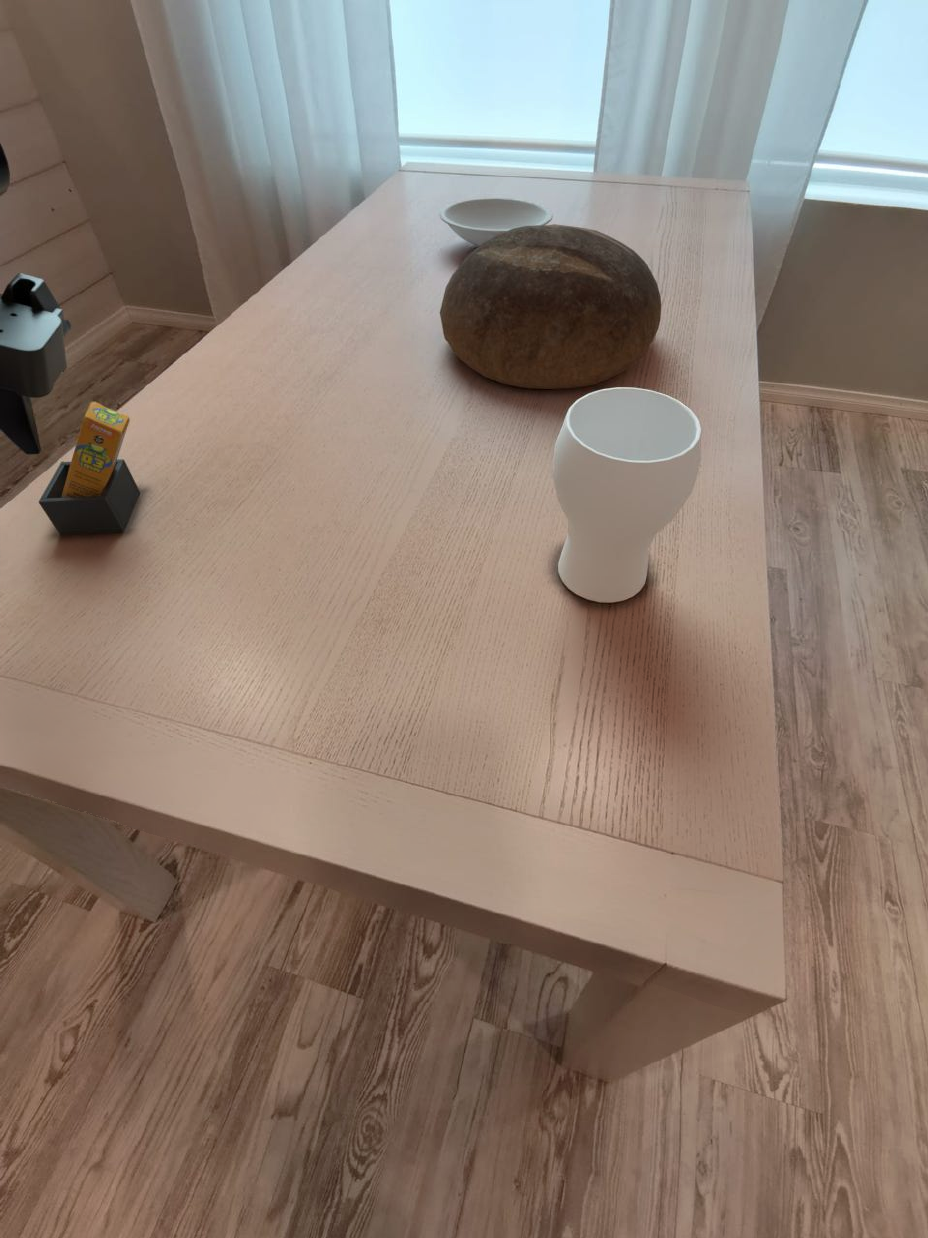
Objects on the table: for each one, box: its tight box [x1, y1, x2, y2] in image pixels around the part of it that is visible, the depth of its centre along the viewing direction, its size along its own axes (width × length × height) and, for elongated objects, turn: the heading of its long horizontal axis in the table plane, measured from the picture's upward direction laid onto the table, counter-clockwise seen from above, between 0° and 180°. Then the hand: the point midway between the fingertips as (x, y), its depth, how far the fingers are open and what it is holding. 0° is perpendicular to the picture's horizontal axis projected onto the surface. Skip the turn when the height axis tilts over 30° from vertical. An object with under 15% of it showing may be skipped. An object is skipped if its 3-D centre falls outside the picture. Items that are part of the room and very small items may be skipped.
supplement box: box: [61, 401, 131, 498], centre depth 60 cm, size 3×3×10 cm
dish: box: [438, 196, 554, 247], centre depth 103 cm, size 18×14×5 cm
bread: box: [439, 223, 662, 390], centre depth 79 cm, size 26×27×13 cm
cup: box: [551, 386, 702, 604], centre depth 52 cm, size 11×11×15 cm
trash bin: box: [38, 458, 141, 536], centre depth 62 cm, size 6×6×4 cm
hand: (10, 491), depth 47 cm, fingers open, 9 cm apart
